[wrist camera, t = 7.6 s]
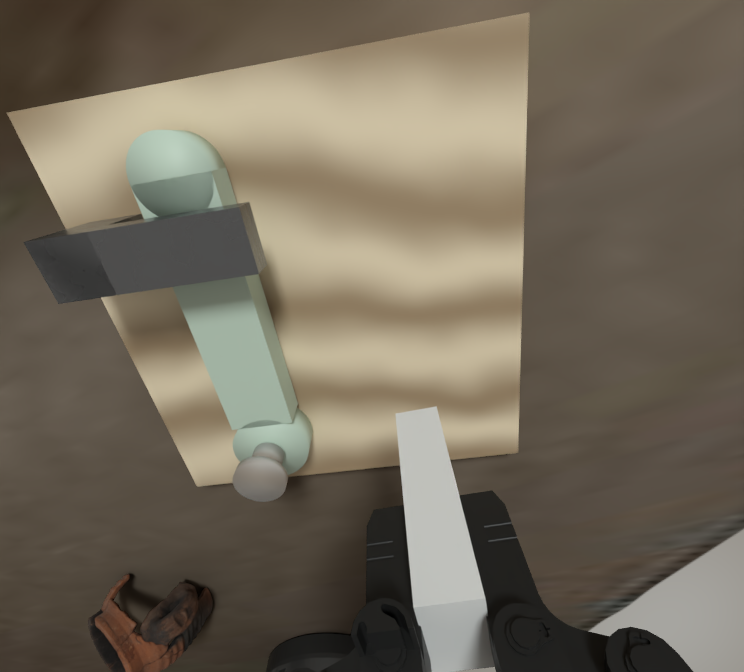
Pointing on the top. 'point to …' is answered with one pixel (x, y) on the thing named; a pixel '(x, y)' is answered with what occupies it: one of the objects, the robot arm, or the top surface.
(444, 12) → the top surface
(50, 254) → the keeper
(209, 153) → the link
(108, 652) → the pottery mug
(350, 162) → the base board
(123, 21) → the top surface
